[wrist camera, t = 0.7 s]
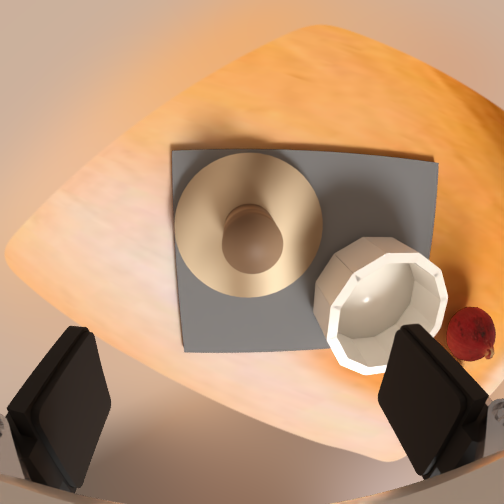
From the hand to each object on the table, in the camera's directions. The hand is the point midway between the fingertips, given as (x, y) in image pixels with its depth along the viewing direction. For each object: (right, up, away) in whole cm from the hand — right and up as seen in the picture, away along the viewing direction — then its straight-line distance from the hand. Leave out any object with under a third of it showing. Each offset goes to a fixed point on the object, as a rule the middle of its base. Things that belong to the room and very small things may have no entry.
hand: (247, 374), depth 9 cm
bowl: (+11, 0, +20) cm, 23 cm away
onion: (+24, -4, +23) cm, 33 cm away
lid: (0, +6, +18) cm, 19 cm away
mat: (+6, +3, +20) cm, 21 cm away
